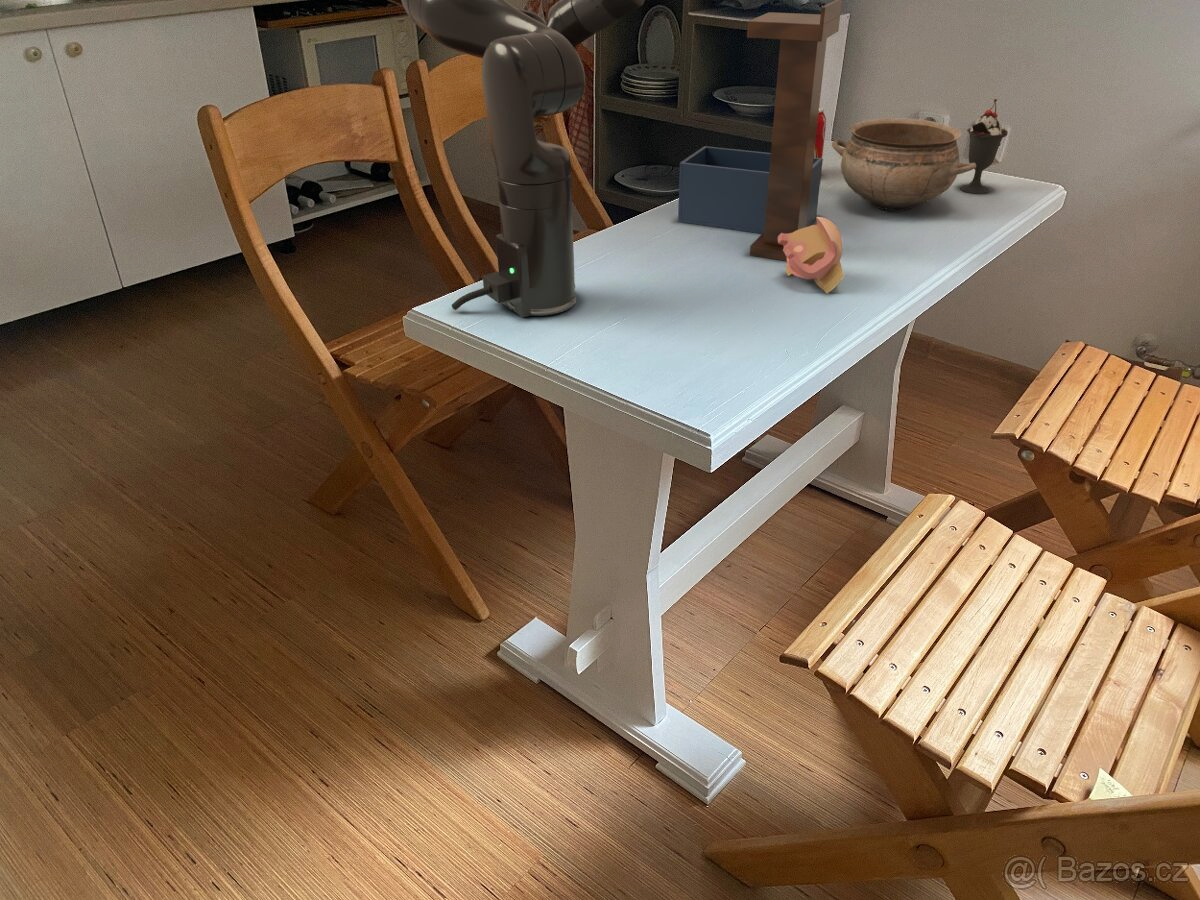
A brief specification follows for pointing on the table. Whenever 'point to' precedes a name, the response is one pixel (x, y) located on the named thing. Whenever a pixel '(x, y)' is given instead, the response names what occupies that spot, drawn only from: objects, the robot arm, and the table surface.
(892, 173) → the cooking pot
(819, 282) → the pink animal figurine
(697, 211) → the blue open box
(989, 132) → the sundae
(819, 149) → the soda can
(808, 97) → the dark wooden post
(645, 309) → the table surface
